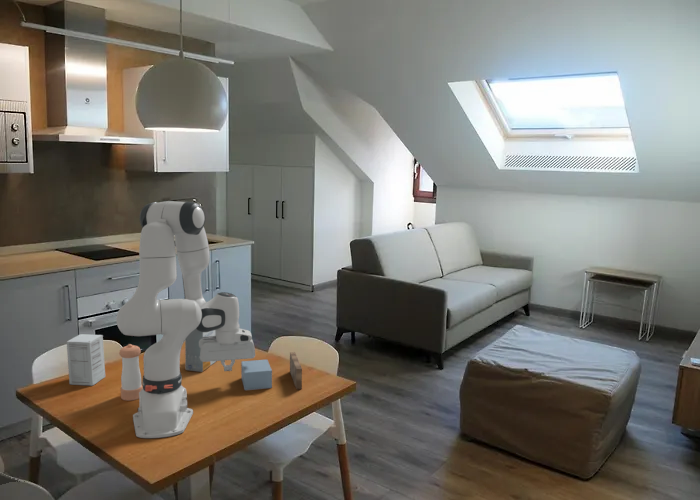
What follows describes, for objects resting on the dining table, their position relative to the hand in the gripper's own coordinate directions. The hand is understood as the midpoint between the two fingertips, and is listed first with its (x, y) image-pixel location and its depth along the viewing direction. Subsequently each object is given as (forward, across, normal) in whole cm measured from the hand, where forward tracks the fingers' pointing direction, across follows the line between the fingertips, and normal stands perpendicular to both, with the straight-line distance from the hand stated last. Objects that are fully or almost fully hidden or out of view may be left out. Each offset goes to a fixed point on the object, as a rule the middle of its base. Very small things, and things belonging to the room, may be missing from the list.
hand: (227, 370), depth 212 cm
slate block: (+6, +10, -2) cm, 12 cm away
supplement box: (+6, -51, +14) cm, 53 cm away
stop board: (+5, +25, -2) cm, 26 cm away
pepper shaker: (+5, -34, -4) cm, 34 cm away
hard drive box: (+6, -9, +22) cm, 25 cm away
